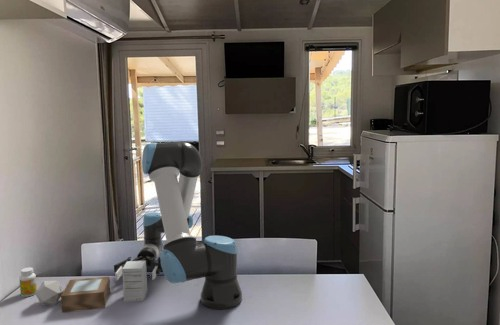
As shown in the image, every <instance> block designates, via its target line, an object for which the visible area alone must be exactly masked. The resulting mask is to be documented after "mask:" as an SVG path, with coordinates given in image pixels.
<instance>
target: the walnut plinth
mask: <svg viewBox="0 0 500 325" xmlns="http://www.w3.org/2000/svg"><path fill="white" fill-rule="evenodd" d="M110 282H111V279H110V276H100V277H99V276H98V277H97V276H96V277H87V278H76V279H70V280H69V281H68V283H67V284H66V286H65V288H64V289H63V290H64V292H63V293H62V295H61V297H60V301H61V302H60V303H61V313H68V312H77V311H78V312H79V311H89V310H99V309H105V308H106V306H107V303H108V300H109V296H110V293H111V283H110Z"/></svg>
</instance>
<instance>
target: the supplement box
mask: <svg viewBox="0 0 500 325" xmlns="http://www.w3.org/2000/svg"><path fill="white" fill-rule="evenodd" d="M147 274H148V273H147V267H146V261H127V262H126V264H125V265H124V267H123V268H122V275H121V276H122V290H123V301H124V302H140V301H142V302H143V301H145V299H146V296H147V295H148V294H147V293H148V277H147V276H148V275H147Z"/></svg>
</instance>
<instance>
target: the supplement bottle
mask: <svg viewBox="0 0 500 325" xmlns="http://www.w3.org/2000/svg"><path fill="white" fill-rule="evenodd" d="M20 274H21V275H20V276H19V288H20V289H19V290H20V296H21V297H23V298H26V297H32V296H35V292H36V291H37V290H38V288H37V277H36V276H37V275H36V273H34V267H31V266H30V267H23V268H21V270H20Z"/></svg>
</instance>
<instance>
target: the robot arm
mask: <svg viewBox="0 0 500 325" xmlns="http://www.w3.org/2000/svg"><path fill="white" fill-rule="evenodd" d="M141 163H142V164H141V165H142V166H141V167H142V173H143V174H144V175H148V177H149V181H151V182H154V187H155V192H156V195H157V201H158V206H159V210H160V212H157V211H156V212H155V211H154V212H152V211H151V212H148V213H145V214H144V215H143V223H142V225H143V241H144V242H143V243H144V245H143V247H142V248H141V249H140V251H139V253H138V254H137V256H136V257H135V258H132V257H131V256H129V257H127V258H126V259H124V260H123V261H120V262H118V263H116V264H114V265H113V270H114V271H113V272H114V274H115V276H114V277H115V281H119V279H120V278H121V276H123V275H122V268H123V267H124V265H125V264H126V262H127V261H146V268H150V269H152V272H151V276H152V277H151V279H152V280H153V281H154V280H155V279H156V278H157V275H159V274H160V273H161V272H163V275H164V277H165V278H166V280H167V281H168V282H169V283H171V284H178V283H185V282H187V281H188V282H189V281H193V280H198V279H202V278H204V282H203V286H202V288H201V292H200V302H201V305H203V306H204V307H206V308H208V309H214V310H226V309H227V310H228V309H231V308H234V307H236V306H238V305H240V304H241V303H242V301H243V291H242V289H241V286H240V283H239V281H238V248H237V247H238V246H237V243H236V241H235V240H234V238H231V237H228V236H224V235H208V236H206V237H205V238H204V240H203V243H202V242H201V243H198V242H197V238H196V237H195V236H193V235H192V234H191V232H190V229H191V228H192V227H193V225H194V222H193V221H194V218H193V215H192V213H191V208H192V204H193V200H194V197H195V196H194V195H195V191H196V187H197V183H198V182H197V181H198V178H199V177H200V176H201V174H202V170H203V159H202V156H201V154H200V151H199V150H197V148H196V147H195V146H194V145H193V144H191V143H189V142H186V141H179V142H178V141H175V142H173V141H172V142H153V143H152V142H151V143H147V144H146V145H145V146H144V148H143V152H142V158H141ZM178 176H179V178H178ZM162 234H164V236H165V242H164V241H163V239H162Z"/></svg>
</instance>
